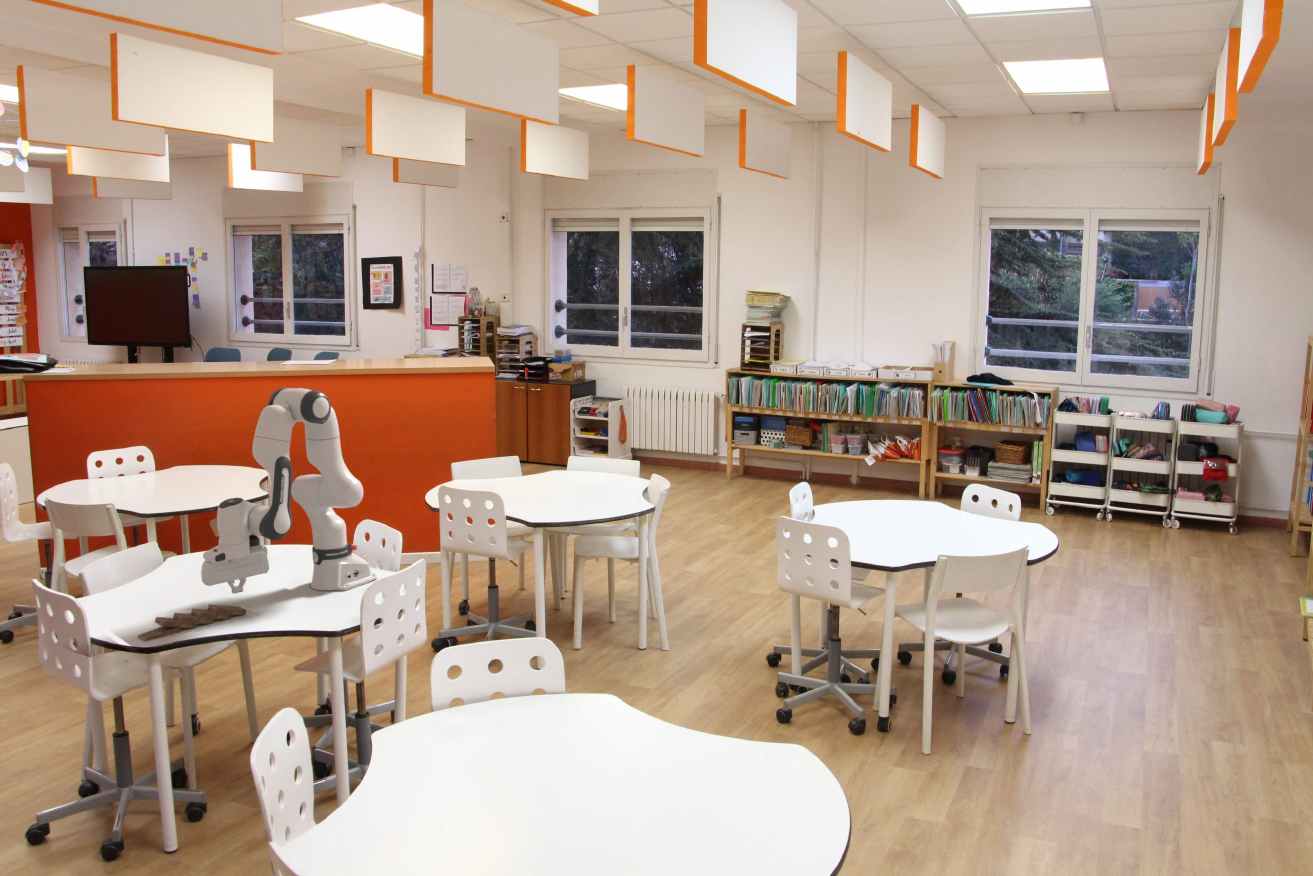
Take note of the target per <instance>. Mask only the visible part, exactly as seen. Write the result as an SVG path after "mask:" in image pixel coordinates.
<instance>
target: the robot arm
mask: <svg viewBox="0 0 1313 876" xmlns="http://www.w3.org/2000/svg"><path fill="white" fill-rule="evenodd" d="M331 405H332V404H331V401H330V400H329V397H328V396H327V395H326V394H325V393H323V392H322V391H319V390H312V389H308V388H303V387H298V388H295V387H293V388H291V387H282V388H278V389H276V390H274V392H273V393H272V394H271V395H270V398H269V400H268V404H267V406H265V407H264V408H263V409H262V410H261V413H260V416H259V418H258V420H257V424H256V428H255V431H254V437H253V441H252V456H253V458H254V460H255V461H256V463H258V464H259V466H261V467H262V468H263V469H264V470H265V471H266V472H267V473H268V475H269V478H270V482H271V484H270V485H271V486H270V498H269V506H268V505H265V504H260V503H254V502H251V501H248V500H245V498H242V497H233V498H231V497H230V498H227V499H225V500H223V501H221V502H219V505H218V506H217V511H216V512H217V513H216V518H217V519H216V523H217V524H216V525H217V531H218V534H219V538H218V545H216V546H214V547H212V548H211V549H208V550H206V551H204V552H203V554H202V557H203V563H202V565H201V572H200V573H201V576H200V577H201V582H202V583H203V585H205V586H207V587H211V586H214V585H218V584H219V585H220V584H224V583H227V584H228V586H229V587H230V588H231V593H232V594H233V595H235V594H238V593H243V592H244V586H245V584H246V582H247V578H249V577H253V576H254V577H255V576H258V575H263V574H267V573H268V572H269V571H270V564H269V560H268V553H269V552H268V548H267V546H265V545H263V544H260V545H258V546H252V547H250V545H249V536H250V535H255V536H259V537H264V538H265V539H268V540H270V541H280V540H281V539H283V538H285V537H286V536H287V535H288V533H289V532H290V530H291V528H292V524H293V518H292V517H293V516H292V511H291V509H292V508H291V503H292V501H291V500H292V499H293V500H294V501H295V502H296V503H297V504H298V505H299V506H301V508H302V509H303V510H304V512H305V514H306V515H307V517H308V519H309V523H310V526H311V531H312V542H313V543H312V544H313V545H312V546H311V547H312V562H313V569H312V570H313V572H312V579H311V583H310V587H311V588H312V589H314V590H319V591H347V590H350V589H353V588H357V587H360V586H362V585H365V584H367V583H371V582H374V581H376V580H378V575H377V574H376V573H375V572H373V571H371V569H370V565H369V563H368V561H366V560H365V559H364V558H363V557H360V556H359V555H357V554H356V553H354V552H353V551H357V550H358V545H357V544H355V543H349V542H348V540H347V539H348V538H347V525H346V522H345V520H344V519H343V518H342V517H340V516H339V515H338V514H337V513H336V512H335V510H334V509H335V508H336V509H347V508H354V507H357V506H358V505H360V503H361V502H362V500H363V498H364V487H363V485H362V482H361V481H360V480H359V479H358V478H357V477H355V476H354V475H353V474H352V473H351V471H350V470H349V468H348V467H347V465H346V463H345V461H344V458H343V453H342V447H341V445H342V444H341V437H340V429H339V428H340V427H339V424H338V423H339V422H338V418H337V415H336V411H335V410H334V408H333V407H332V406H331ZM296 423H303V425H304V435H305V436H304V437H305V448H306V458H307V460H308V462H309V464H311V465H312V466H313V467H315V468H316V469H317V470H318V471H319V472H320V474H314V473H312V474H305V475H299V476H297V477H296V478H295V479H294V481H293V465H292V462H291V457H290V448H291V441H292V436H293V435H292V433H293V428H294V426H295V425H296ZM352 550H353V551H352ZM375 579H376V580H375ZM237 580H239V582H238V585H237V586H235V585H234V584H236V583H235V581H237ZM373 580H374V581H373Z"/></svg>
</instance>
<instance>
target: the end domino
mask: <svg viewBox="0 0 1313 876" xmlns="http://www.w3.org/2000/svg"><path fill="white" fill-rule="evenodd" d="M179 632H180V631H179V627H164V626H160V627H157V628H154V629H152V630H148V631H146V632H142V633H141V634H140V633H139V634H137V638H139V639H140V640H142V641H144V642H145V643H146V642H149V641H151V640H152V641H153V640H156V639H159V638H163V637H167V636H168V637H169V636H171V635H175V634H178V633H179Z"/></svg>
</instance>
